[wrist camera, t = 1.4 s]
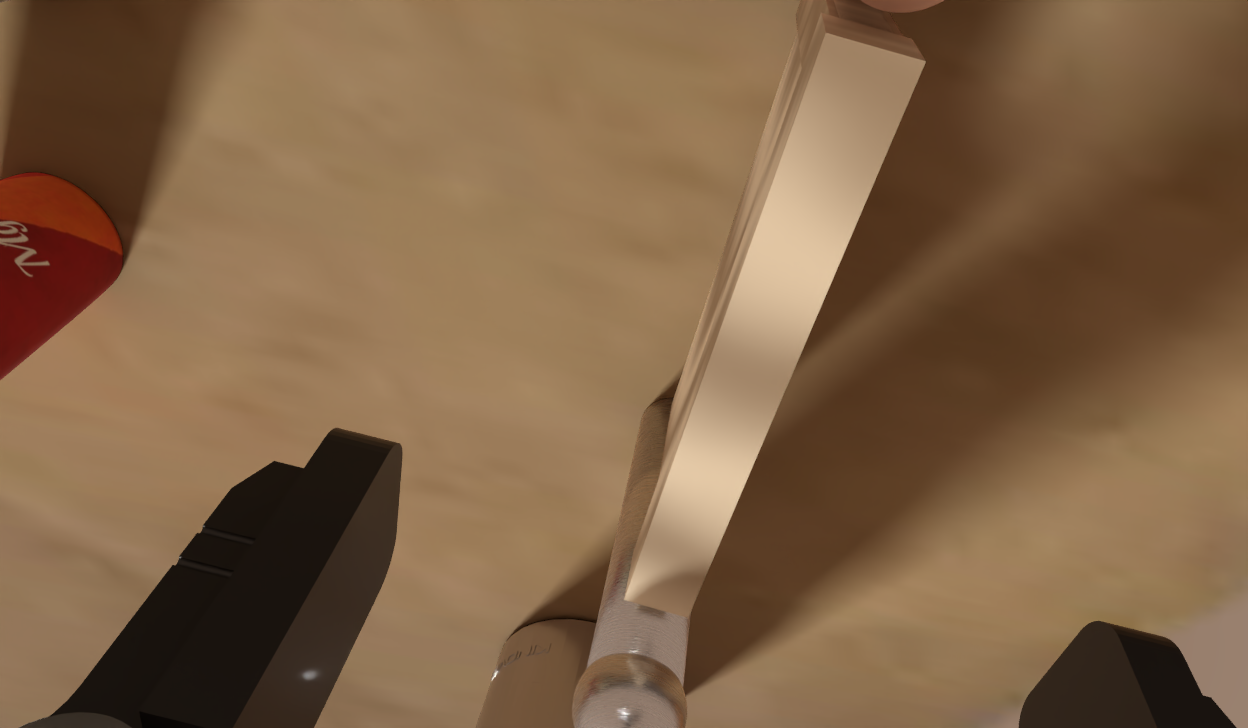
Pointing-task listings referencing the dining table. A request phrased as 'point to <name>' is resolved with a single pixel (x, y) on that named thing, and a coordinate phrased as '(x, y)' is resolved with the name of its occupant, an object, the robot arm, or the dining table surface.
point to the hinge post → (635, 618)
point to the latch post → (901, 5)
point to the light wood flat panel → (772, 281)
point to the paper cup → (49, 260)
